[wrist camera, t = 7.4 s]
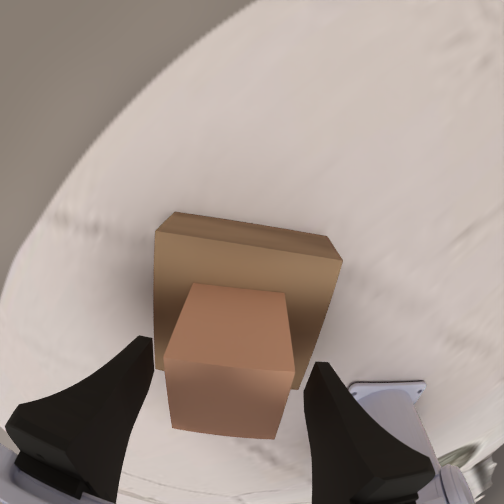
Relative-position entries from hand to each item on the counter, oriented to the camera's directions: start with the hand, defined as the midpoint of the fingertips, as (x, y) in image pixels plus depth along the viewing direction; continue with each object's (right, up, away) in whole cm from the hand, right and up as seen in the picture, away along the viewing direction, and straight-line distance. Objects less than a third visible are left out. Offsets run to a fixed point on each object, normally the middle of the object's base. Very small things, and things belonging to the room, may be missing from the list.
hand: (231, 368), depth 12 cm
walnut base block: (0, +3, +7) cm, 7 cm away
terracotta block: (0, +1, +3) cm, 3 cm away
